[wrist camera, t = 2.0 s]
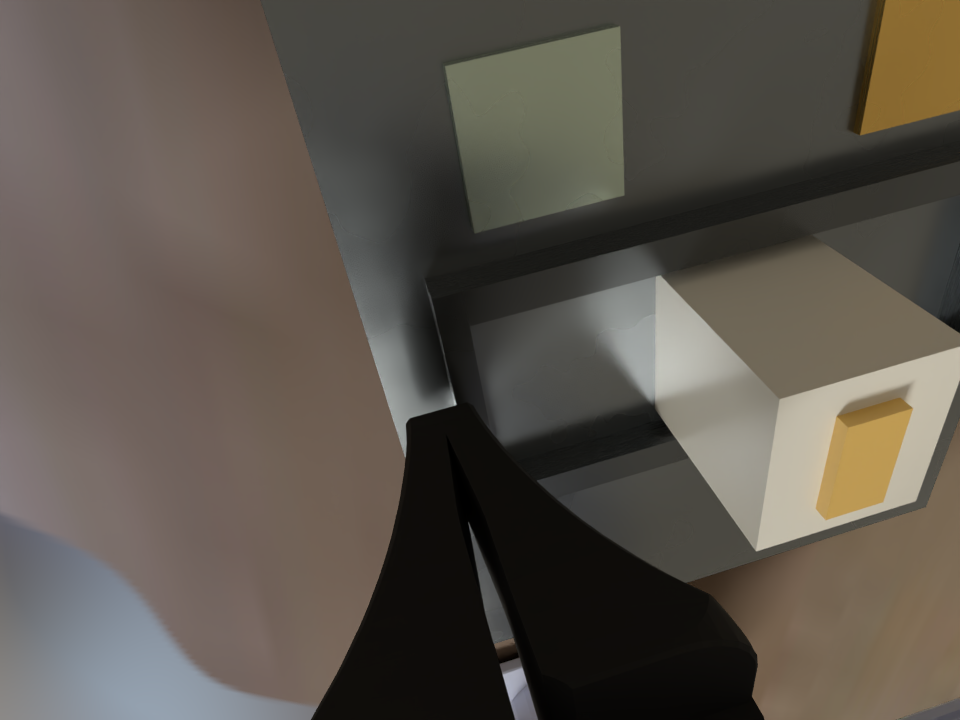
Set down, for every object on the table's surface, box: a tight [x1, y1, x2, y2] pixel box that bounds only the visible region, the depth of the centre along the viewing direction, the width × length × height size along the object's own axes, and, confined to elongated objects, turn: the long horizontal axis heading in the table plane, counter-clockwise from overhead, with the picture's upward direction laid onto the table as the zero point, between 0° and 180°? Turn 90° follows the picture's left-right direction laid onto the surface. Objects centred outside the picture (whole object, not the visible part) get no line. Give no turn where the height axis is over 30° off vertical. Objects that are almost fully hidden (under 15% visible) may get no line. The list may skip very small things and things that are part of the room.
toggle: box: [655, 235, 960, 551], centre depth 14 cm, size 4×4×5 cm
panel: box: [261, 0, 960, 644], centre depth 16 cm, size 20×16×2 cm
